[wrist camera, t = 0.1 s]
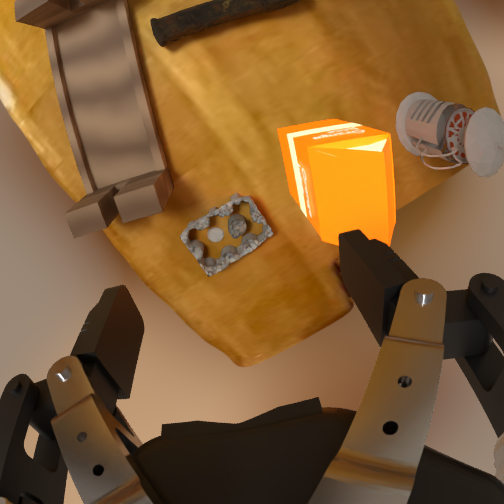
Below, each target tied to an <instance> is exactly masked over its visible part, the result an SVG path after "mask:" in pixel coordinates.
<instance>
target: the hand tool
mask: <svg viewBox="0 0 504 504" xmlns="http://www.w3.org/2000/svg"><path fill="white" fill-rule="evenodd" d="M299 1H301V0H213V1H209V2H206V3H203V4H199V5H196V6H193V7H190V8H187V9H184V10H181V11H179V12H176V13H173V14H171V15H168V16H165V17H162V18H159V19H156V18H152V19H151V26H152V31H153V35H154V36H155V38H156V40H157V42H158V43H159V45H160V46H161V47H164V46H165V45H166V44H167V43H168V42H169V41H176V40H178V39H179V38H180V37H182V36H186V35H189V34H193V33H195V32H198V31H202V30H204V29H205V28H208V27H211V26H215V25H219V24H221V23H224V22H228V21H231V20H234V19H238V18H241V17H246V16H249V15H253V14H258V13H262V12H270V11H274V10H278V9H281V8H285V7H286V6H289V5H292V4H294V3H296V2H299Z"/></svg>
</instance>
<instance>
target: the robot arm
mask: <svg viewBox="0 0 504 504" xmlns="http://www.w3.org/2000/svg"><path fill="white" fill-rule="evenodd" d="M338 243H339V255H340V268H341V275H342V279H343V282H344V285H345V287H346V288H347V290H348V292H349V294H350V295H351V297H352V299H353V300H354V302H355V304H356V305H357V307H358V309H359V310H360V312H361V314H362V315H363V317H364V319H365V321H366V323H367V324H368V326H369V328H370V330H371V331H372V333H373V335H374V337H375V339H376V340H377V342H378V344H379V346H380V347H381V349H380V352H379V355H378V358H377V361H376V364H375V366H374V370H373V372H372V375H371V377H370V380H369V383H368V385H367V388H366V390H365V393H364V396H363V398H362V401H361V403H360V406H359V408H358V411H353V410H349V409H343V408H331V407H327V408H322V407H321V404H320V401H319V398H318V397H317V398H313V399H309V400H305V401H301V402H297V403H293V404H289V405H284V406H280V407H277V408H275V409H273V410H270V411H268V412H266V413H264V414H261V415H259V416H257V417H254V418H252V419H249V420H247V421H244V422H242V423H237V424H231V423H217V422H206V421H191V422H182V423H171V424H162V431H161V436H158V437H156V438H154V439H151V440H149V441H148V442H146V443H144V444H142V442H141V441H140V440H139V438H138V437H137V435H136V434H135V432H134V431H133V429H132V428H131V426H130V425H129V423H128V422H127V420H126V419H125V417H124V416H123V414H122V412H121V411H120V410H119V408H118V407H117V406H116V402H117V399H128V398H130V393H131V388H132V383H133V378H134V374H135V369H136V364H137V360H138V356H139V351H140V347H141V342H142V338H143V334H144V323H143V319H142V316H141V315H140V312H139V311H138V309H137V307H136V305H135V303H134V301H133V299H132V297H131V295H130V293H129V291H128V289H127V288H126V286H124V285H120V286H116V287H112V288H108V289H105V291H104V292H103V295H102V296H101V299H100V301H99V303H98V304H97V305H96V306H95V307H94V308H93V309H92V310H91V311H90V312H89V314H88V316H87V318H86V320H85V324H84V325H83V327H82V329H81V332H80V334H79V336H78V338H77V341H76V343H75V345H74V347H73V350H72V352H71V354H70V356H66V357H63V358H61V359H60V360H58V361H56V362H55V363H54V364H53V365H52V367H51V368H50V369H49V371H48V374H47V379H44V380H42V381H39V382H37V383H33V381H32V380H31V379H30V378H29V377H28V376H27V375H26V374H19V375H17V376H15V377H14V378H12V379H11V380H10V381H9V382H8V384H7V385H6V387H5V389H4V391H3V394H2V396H1V398H0V504H63V503H64V494H65V487H66V479H67V472H68V470H69V473H70V475H71V477H72V480H73V482H74V484H75V486H76V488H77V490H78V493H79V495H80V497H81V499H82V501H83V503H84V504H504V356H503V355H502V353H501V352H500V351H499V349H498V348H497V346H496V345H495V344H494V342H493V341H492V340H493V338H494V339H495V341H496V342H497V344H498V345H499V346H500V348H501V349H502V351H503V353H504V280H503V279H501V278H500V277H498V276H496V275H493V274H489V273H480V274H477V275H475V276H473V277H472V278H471V280H470V282H469V286H468V289H466V290H455V291H446V290H445V289H444V287H443V286H442V285H441V284H439V283H438V282H436V281H434V280H431V279H425V278H418V276H417V275H416V274H415V273H414V272H413V271H412V270H411V269H410V268H409V267H408V266H407V265H406V264H405V262H404V261H403V260H402V259H400V257H399V256H398V255H397V254H396V253H394V251H393V250H392V249H391V248H390V247H389V246H388V245H387V244H386V243H384V242H382V241H379V240H377V239H371V240H369V239H368V238H367V237H366V235H365V234H364V233H363V232H362V231H361V230H360V229H355V230H351V231H347V232H343V233H339V235H338ZM451 358H455V359H456V361H457V363H458V364H459V366H460V368H461V369H462V371H463V373H464V374H465V376H466V378H467V380H468V381H469V383H470V385H471V387H472V388H473V390H474V392H475V394H476V396H477V397H478V399H479V401H480V403H481V405H482V407H483V409H484V411H485V412H486V414H487V416H488V418H489V420H490V422H491V424H492V426H493V428H494V430H495V432H496V434H497V436H498V440H497V442H496V445H495V448H494V459H495V463H494V465H495V468H496V475H495V476H493V475H491V474H489V473H486V472H484V471H481V470H479V469H477V468H474V467H472V466H470V465H467V464H465V463H463V462H460V461H458V460H456V459H454V458H451V457H449V456H447V455H445V454H443V453H441V452H438V451H436V450H434V449H432V448H430V447H428V446H426V445H425V441H426V437H427V433H428V430H429V426H430V422H431V418H432V413H433V409H434V405H435V400H436V395H437V390H438V385H439V380H440V374H441V368H442V361H443V359H451ZM29 425H31V426H32V427H33V428H34V429H35V430H36V431H37V432H38V433H39V437H38V441H37V445H36V449H35V453H34V457H33V459H32V458H30V457H29V456H28V455H27V453H26V452H25V449H24V439H25V436H26V433H27V429H28V426H29Z"/></svg>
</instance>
